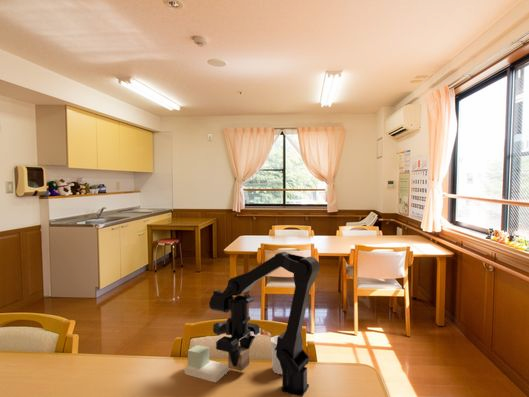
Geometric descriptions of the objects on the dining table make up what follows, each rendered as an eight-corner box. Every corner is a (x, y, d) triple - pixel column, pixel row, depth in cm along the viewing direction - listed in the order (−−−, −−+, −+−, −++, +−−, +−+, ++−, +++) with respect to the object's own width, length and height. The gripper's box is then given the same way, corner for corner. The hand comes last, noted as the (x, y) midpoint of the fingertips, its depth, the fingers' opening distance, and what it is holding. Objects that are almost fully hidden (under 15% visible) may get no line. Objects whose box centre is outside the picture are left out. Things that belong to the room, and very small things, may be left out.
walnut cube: (249, 364, 108) (249, 349, 109) (241, 371, 104) (241, 355, 104) (236, 361, 111) (236, 346, 111) (228, 367, 106) (228, 352, 106)
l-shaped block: (229, 371, 108) (229, 349, 109) (215, 382, 101) (215, 359, 101) (199, 363, 114) (200, 343, 114) (184, 373, 106) (184, 352, 107)
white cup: (294, 365, 113) (294, 335, 113) (294, 376, 105) (294, 345, 105) (271, 364, 113) (271, 334, 114) (269, 375, 106) (269, 344, 106)
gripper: (233, 304, 120) (232, 347, 119) (201, 319, 103) (201, 369, 103) (260, 308, 115) (260, 353, 114) (232, 324, 98) (231, 377, 98)
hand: (239, 362), depth 107 cm, fingers closed on walnut cube, 5 cm apart
